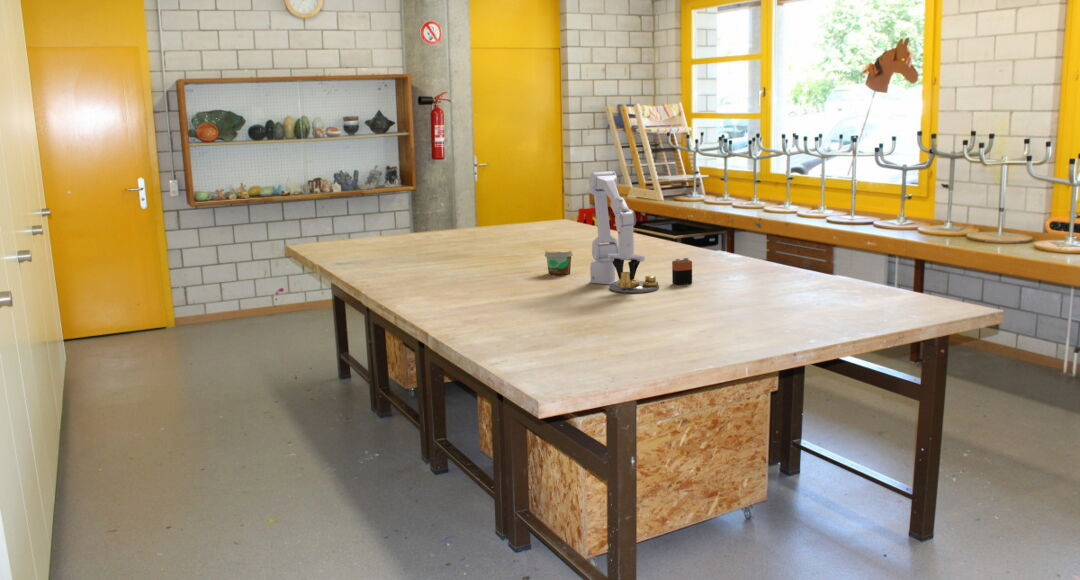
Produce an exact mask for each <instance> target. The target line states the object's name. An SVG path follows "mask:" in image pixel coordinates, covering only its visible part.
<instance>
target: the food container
mask: <svg viewBox="0 0 1080 580" xmlns="http://www.w3.org/2000/svg"><path fill="white" fill-rule="evenodd" d="M544 257H545V258H546V263H547V272H548V275H549V274H550V275H549V276H552V275H555V276H554V277H563V275H564V276H569V275H571V268H572V267H571V266H572V257H573V252H572V250H569V251H564V252H562V251H554V252H553V251H552V252H551V251H548V250H545V252H544Z"/></svg>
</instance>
